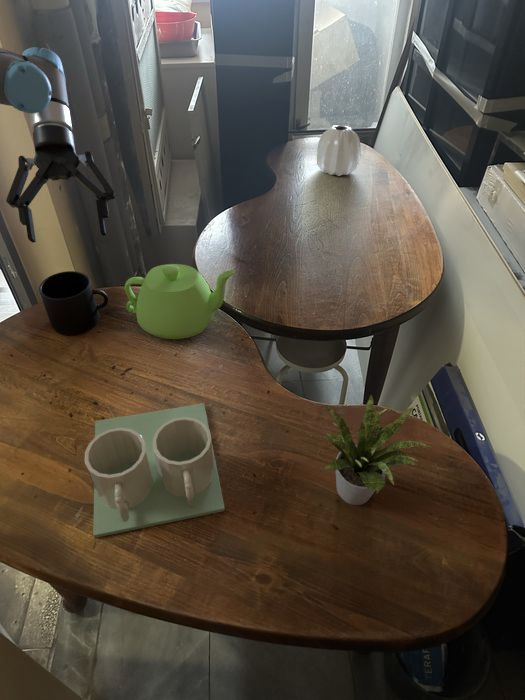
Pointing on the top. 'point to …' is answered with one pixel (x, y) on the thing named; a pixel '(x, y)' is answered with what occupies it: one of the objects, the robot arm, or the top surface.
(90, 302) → the mug
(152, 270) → the teapot
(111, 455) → the cream mug left
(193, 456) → the mug mat
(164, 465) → the cream mug right
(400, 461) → the house plant
